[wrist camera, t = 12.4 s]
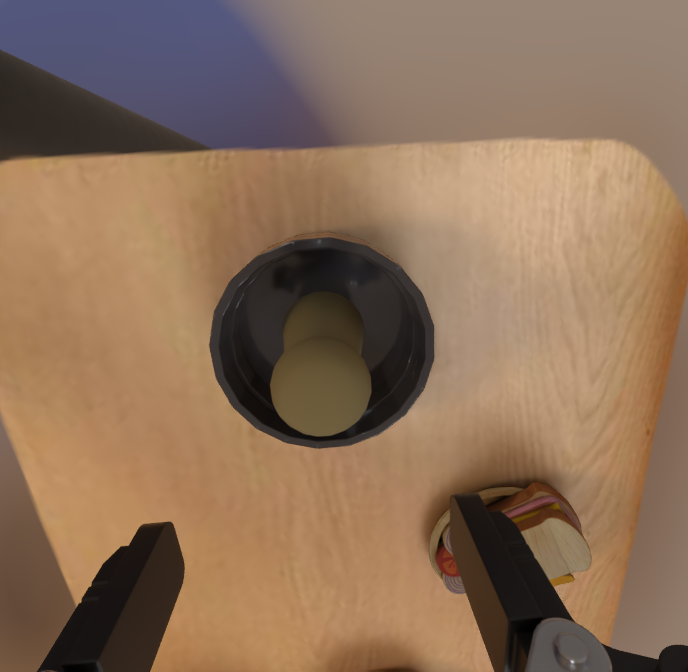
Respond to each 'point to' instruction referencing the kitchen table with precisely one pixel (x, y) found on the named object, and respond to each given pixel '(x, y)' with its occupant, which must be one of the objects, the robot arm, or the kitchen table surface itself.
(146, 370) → the kitchen table surface
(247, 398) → the dark grey bowl
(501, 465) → the kitchen table surface
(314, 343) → the cork
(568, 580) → the toy sandwich meal
